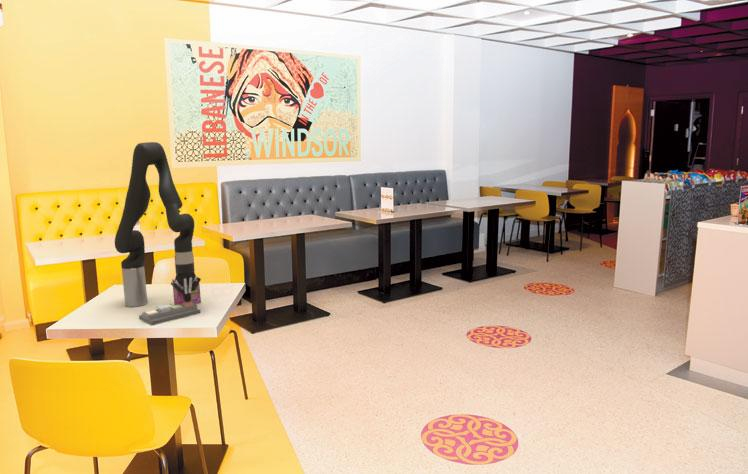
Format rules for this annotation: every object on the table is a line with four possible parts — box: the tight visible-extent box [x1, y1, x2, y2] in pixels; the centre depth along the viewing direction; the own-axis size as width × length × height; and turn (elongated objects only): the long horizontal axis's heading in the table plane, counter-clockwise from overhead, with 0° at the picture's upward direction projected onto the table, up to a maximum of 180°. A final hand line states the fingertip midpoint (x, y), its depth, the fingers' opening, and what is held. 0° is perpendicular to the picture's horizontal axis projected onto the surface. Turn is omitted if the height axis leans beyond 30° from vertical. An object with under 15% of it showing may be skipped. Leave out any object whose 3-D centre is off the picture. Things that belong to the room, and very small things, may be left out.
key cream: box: [145, 309, 158, 315], centre depth 227 cm, size 4×4×2 cm
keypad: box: [138, 302, 201, 326], centre depth 233 cm, size 12×21×3 cm, turn 135°
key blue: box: [156, 304, 171, 312], centre depth 230 cm, size 4×4×2 cm
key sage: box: [169, 304, 183, 310], centre depth 234 cm, size 4×4×2 cm
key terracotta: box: [182, 302, 194, 307], centre depth 237 cm, size 4×4×2 cm
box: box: [171, 276, 202, 305], centre depth 249 cm, size 10×6×12 cm, turn 126°
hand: (187, 301), depth 237 cm, fingers closed
